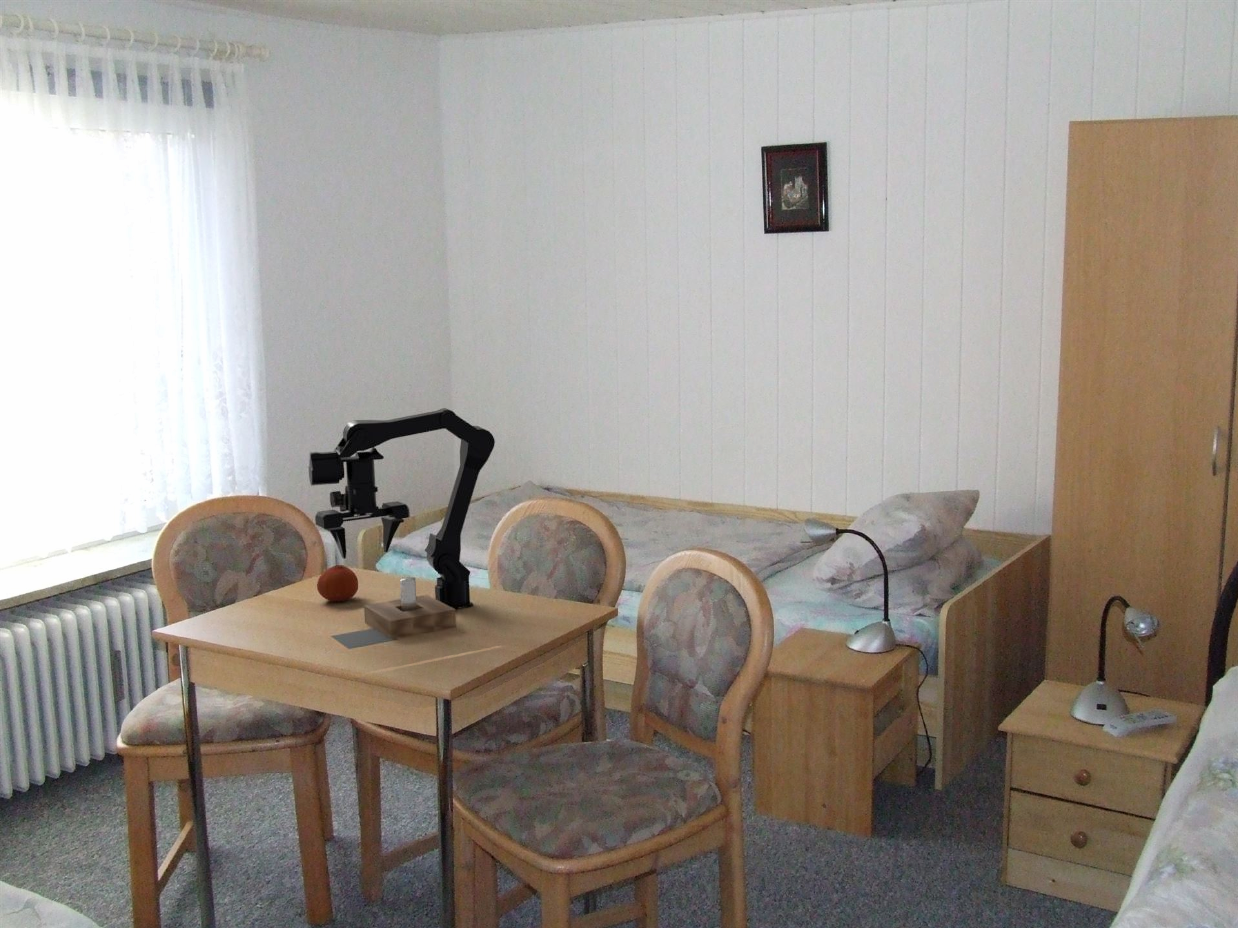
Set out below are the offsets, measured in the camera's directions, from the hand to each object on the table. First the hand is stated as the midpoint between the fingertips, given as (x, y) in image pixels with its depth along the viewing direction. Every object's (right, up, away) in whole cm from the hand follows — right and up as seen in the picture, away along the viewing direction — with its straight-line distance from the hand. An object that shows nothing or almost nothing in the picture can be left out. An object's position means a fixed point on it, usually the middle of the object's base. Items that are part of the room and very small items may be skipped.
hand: (365, 555), depth 261 cm
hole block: (+11, -14, -7) cm, 19 cm away
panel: (+3, -16, -15) cm, 22 cm away
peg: (+10, -14, -6) cm, 19 cm away
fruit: (-9, -11, +14) cm, 20 cm away
